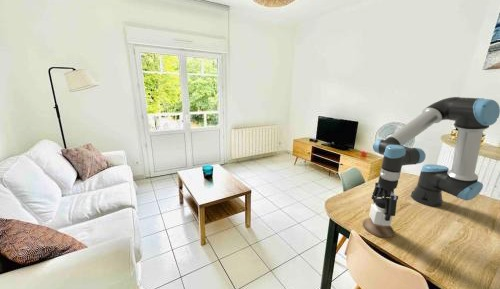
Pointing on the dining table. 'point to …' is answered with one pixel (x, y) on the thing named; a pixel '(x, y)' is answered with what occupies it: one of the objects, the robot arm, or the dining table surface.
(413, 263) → the dining table surface
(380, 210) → the medicine bottle
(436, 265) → the dining table surface
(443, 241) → the dining table surface
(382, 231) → the walnut coaster
